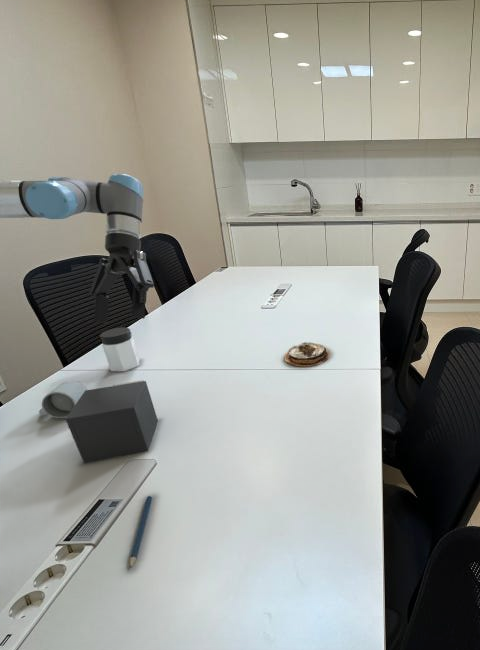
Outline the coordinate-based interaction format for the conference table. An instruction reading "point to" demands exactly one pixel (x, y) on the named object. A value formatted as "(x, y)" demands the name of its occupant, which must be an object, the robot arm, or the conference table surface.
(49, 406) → the ceramic mug
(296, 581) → the conference table surface
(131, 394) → the dark grey cube
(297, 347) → the layered cake
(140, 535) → the pencil
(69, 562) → the conference table surface
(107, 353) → the jar
